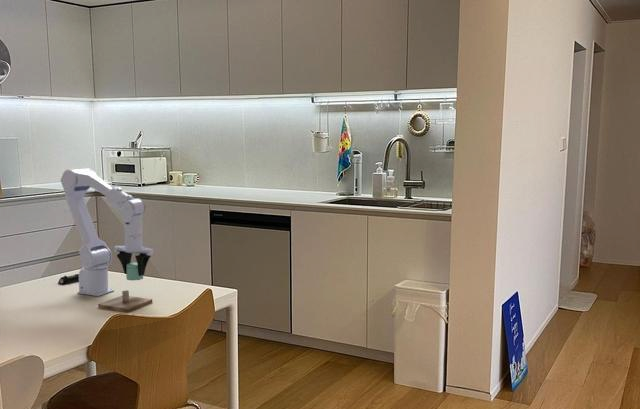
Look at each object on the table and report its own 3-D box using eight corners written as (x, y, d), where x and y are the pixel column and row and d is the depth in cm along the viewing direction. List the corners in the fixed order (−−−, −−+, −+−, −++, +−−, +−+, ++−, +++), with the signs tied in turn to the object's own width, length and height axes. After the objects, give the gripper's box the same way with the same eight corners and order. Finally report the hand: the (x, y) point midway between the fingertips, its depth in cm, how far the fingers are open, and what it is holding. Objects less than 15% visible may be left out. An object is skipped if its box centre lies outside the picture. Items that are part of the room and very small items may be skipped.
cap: (123, 279, 203) (123, 264, 203) (133, 276, 208) (133, 261, 208) (136, 281, 202) (136, 266, 201) (145, 277, 206) (145, 263, 206)
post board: (98, 307, 195) (97, 293, 194) (123, 298, 206) (123, 284, 205) (128, 312, 190) (128, 298, 190) (152, 302, 201) (152, 288, 201)
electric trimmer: (100, 278, 234) (100, 270, 234) (63, 286, 221) (62, 277, 221) (94, 277, 236) (94, 269, 236) (57, 284, 224) (57, 276, 223)
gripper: (107, 235, 202) (109, 274, 203) (143, 238, 197) (144, 279, 198) (121, 231, 208) (122, 270, 210) (156, 234, 203) (157, 274, 205)
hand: (134, 274), depth 205 cm, fingers closed on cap, 5 cm apart
